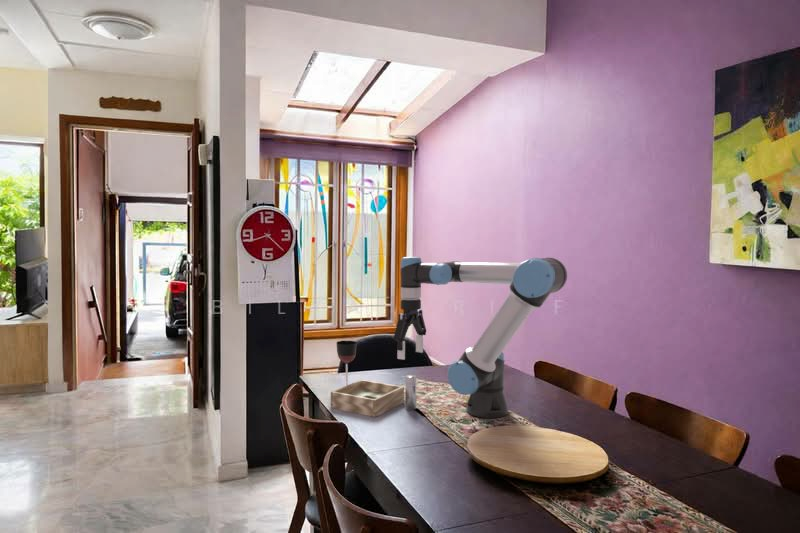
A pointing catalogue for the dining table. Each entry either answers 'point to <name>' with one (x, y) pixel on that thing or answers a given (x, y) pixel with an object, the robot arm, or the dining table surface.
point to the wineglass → (346, 353)
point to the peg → (410, 392)
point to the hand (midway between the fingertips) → (410, 355)
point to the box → (367, 397)
